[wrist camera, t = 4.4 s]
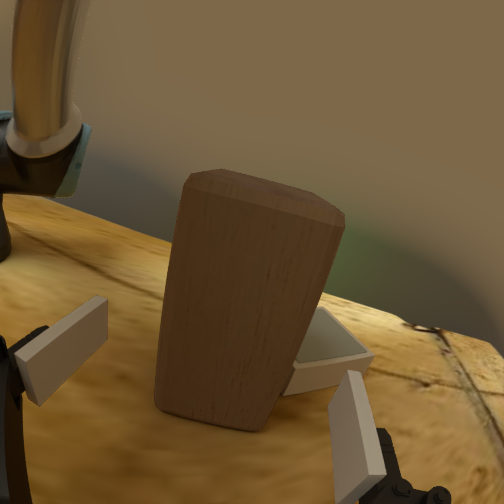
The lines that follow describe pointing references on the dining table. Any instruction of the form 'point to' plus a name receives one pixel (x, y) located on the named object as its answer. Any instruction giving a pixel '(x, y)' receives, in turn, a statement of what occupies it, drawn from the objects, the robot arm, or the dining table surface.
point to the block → (240, 295)
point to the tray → (326, 356)
